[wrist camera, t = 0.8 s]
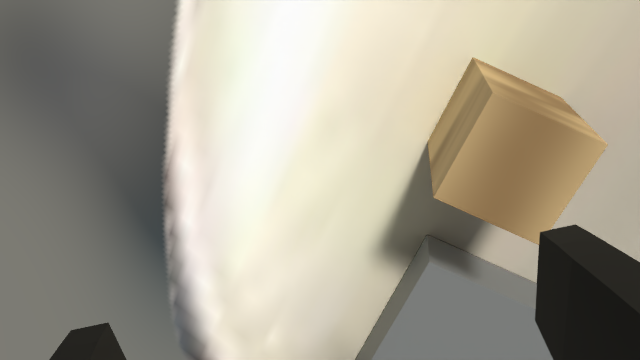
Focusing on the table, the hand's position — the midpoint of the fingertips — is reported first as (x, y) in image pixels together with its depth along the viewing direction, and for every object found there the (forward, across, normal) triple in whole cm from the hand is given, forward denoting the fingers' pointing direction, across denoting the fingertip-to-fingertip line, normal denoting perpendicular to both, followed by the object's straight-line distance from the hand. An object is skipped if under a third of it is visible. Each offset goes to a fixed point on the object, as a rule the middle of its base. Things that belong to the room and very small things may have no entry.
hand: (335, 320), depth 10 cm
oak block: (+14, -8, +5) cm, 17 cm away
